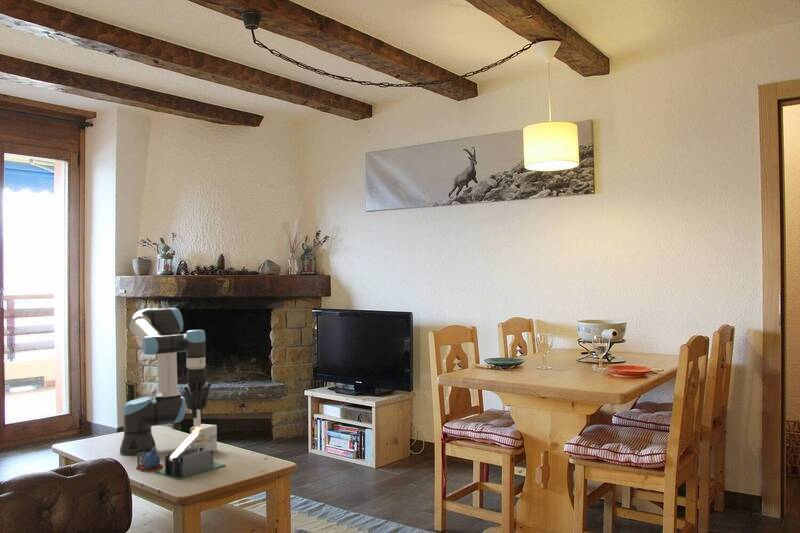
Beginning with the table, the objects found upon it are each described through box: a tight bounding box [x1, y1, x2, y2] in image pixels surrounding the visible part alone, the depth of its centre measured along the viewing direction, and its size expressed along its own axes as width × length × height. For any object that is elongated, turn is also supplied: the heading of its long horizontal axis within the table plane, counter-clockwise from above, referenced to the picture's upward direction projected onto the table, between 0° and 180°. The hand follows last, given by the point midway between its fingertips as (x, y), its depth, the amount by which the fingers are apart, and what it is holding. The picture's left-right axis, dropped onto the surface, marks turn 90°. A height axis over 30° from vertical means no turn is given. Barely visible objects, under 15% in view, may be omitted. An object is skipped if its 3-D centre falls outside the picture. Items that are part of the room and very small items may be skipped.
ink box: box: [189, 423, 218, 453], centre depth 295 cm, size 9×8×12 cm
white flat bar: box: [167, 428, 204, 462], centre depth 264 cm, size 17×4×2 cm
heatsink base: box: [155, 447, 227, 480], centre depth 267 cm, size 16×22×8 cm
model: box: [135, 447, 164, 473], centre depth 271 cm, size 12×9×9 cm
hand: (197, 425), depth 268 cm, fingers closed
